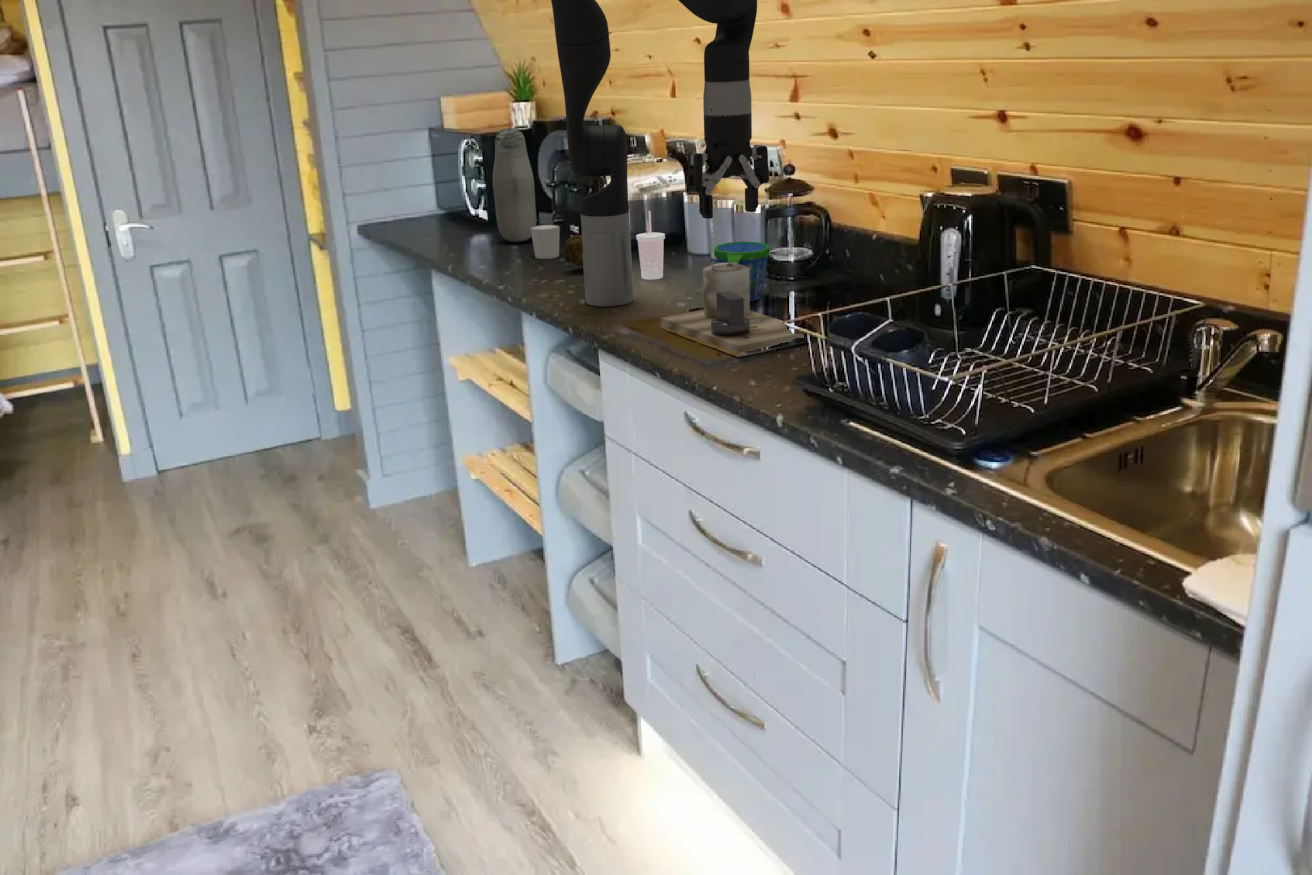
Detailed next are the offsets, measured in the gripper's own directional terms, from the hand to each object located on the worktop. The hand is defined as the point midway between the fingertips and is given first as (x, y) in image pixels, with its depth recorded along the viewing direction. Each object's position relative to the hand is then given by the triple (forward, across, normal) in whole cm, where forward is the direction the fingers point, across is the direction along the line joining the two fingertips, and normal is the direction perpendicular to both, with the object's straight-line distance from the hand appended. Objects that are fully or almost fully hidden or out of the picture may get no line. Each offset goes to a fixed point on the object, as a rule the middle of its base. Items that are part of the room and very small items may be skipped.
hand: (729, 214), depth 180 cm
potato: (+22, +10, +68) cm, 72 cm away
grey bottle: (+23, +12, +112) cm, 114 cm away
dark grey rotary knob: (+19, -1, -3) cm, 19 cm away
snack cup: (+22, +18, +23) cm, 36 cm away
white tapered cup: (+22, +8, +89) cm, 92 cm away
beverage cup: (+22, +15, +52) cm, 58 cm away
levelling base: (+21, +2, +2) cm, 21 cm away
